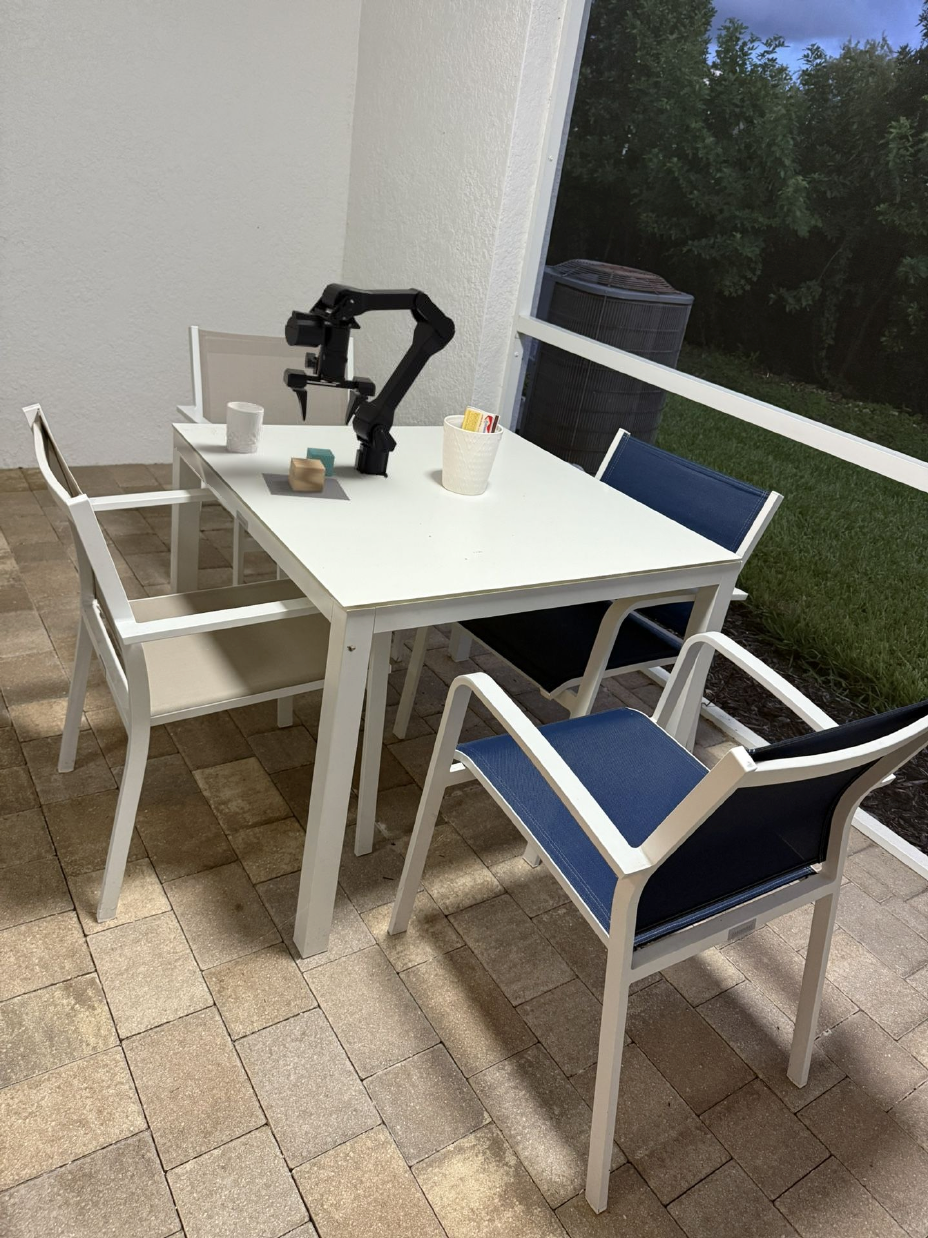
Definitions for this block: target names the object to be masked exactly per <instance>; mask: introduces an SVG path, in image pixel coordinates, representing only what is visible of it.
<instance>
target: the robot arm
mask: <svg viewBox="0 0 928 1238" xmlns="http://www.w3.org/2000/svg"><path fill="white" fill-rule="evenodd" d="M372 311H373V312H375V311H409V312H410V314H411V317H412V319H413V320H414V321H415V323H416V325H415V328H414V329H413V333H412V334H413V336H412V343H411V345H410V346H409V348H408V350H407V351H406V352H405V354H404V355H403V357H402V359H400V361H399V363H398V365H397V366H396V367H395V369H394V371H393V372H392V374H391V375H390V376H389V378H388V380H387V381H386V382H385V384H384V386H383V387H382V389H381V390H380V392H379V393H378V395H377V396H376V392H377V391H376V389H377V388H376V384H375V382H374V381H373V380H372V379H371V378H370V377H364V376H355V375H353V377H352V379H351V380H350V379H346V377H345V375H346V371H347V370H346V368H347V363H348V361H349V358H348V352H349V346H350V336H351V331H352V330H361V328H362V327H361V325H360V324H359V322H357V320H356V317H357V316H362V315H364V314H365V313H368V312H372ZM455 334H456V326H455V322H454V321H453V319H452V318H451V317H449V316H447V315H446V314H445V313H444V311H442V310H441V309H440V308H439V307H438V306H437V305H436V303H435V302H433V300H431V297H430V296H429V295H428V294H427V292H425V291H423V290H420V289H418V288H414V287H411V288H402V289H401V288H400V289H399V288H392V289H390V288H389V289H384V288H383V289H381V288H379V289H363V288H359V287H354V286H351V285H345V284H341V283H335V282H334V283H333V282H332V283H329V284H327V285H326V287H325V288H324V289H323V292H322V293H321V296H320V298H319V299H317V301H316V302H315V303H314V305H313V306H312V307H311V308H310V309H309V311H308V312H303V311H300V310H294V309H293V310H292V311H291V316H290V317H288V318H287V321H286V324H285V326H284V336H285V337H284V338H285V341H286V343H287V344H288V346H289V347H298V348H299V347H300V348H315V349H316V348H319V349H318V350H319V351H318V356H316V355H317V354H316V353H315V352H306V353H305V358H304V368H305V369H309V370H312V375H311V374H307V373H306V371H304V369H296V368H290V367H288V368H286V369H285V370H284V372H283V376H282V381H283V384H285V385H286V387H287V388H290V389H291V391H292V392H294V393H295V394H296V397H297V400H298V405H299V409H300V415H301V419H302V421H303V422H305V421H306V420H307V419H306V417H307V409H308V407H307V406H308V390H307V388H306V387H307V385H310V386H318V387H327V388H337V389H345V390H349V395H348V402H347V406H346V407H347V408H346V412H345V416H344V425H345V426H348V425H349V423H350V422H351V424H352V430H353V432H354V433H355V435H356V440H357V441H358V442H360V443H359V448H358V449H356V452H355V453H356V454H355V460H354V468H356V470H357V471H358V472H359V474H361V475H370V476H378V477H379V476H382V477H384V478H389V474H388V473H387V469H388V464H389V463H388V462H389V458H390V453H393V452H394V451H395V449H396V447H397V445H398V443H397V442H396V440H395V438H394V437H393V436H392V434H391V433H390V432H391V429H392V427H393V426H394V420H395V419H394V418H395V412H396V410H397V408H398V407H399V405H400V404H401V402H402V401H403V399H404V398H405V396H406V395H407V393H408V391H409V390H410V389H411V387H412V385H413V384H414V383H415V380H416V379H417V378H418V376H419V375H420V374H421V372H422V370H423V369H424V367H425V366H426V364H427V362H428V361H429V360H430V359H431V357H433V356H435V355H436V354H438V353H439V352H441V351H443V350H444V349H445V348H446V346H447V345H448V344H449V343H450V342H451V341H452V340H453V338H454V336H455ZM369 397H371V398H372V397H373V398H374V397H375V398H374V399H372V400H371V401H368V400H369ZM353 416H354V417H353ZM351 419H352V420H351Z"/></svg>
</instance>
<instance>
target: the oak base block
mask: <svg viewBox="0 0 928 1238" xmlns="http://www.w3.org/2000/svg"><path fill="white" fill-rule="evenodd" d="M325 470H326V469H325V467H324V466H323V464H322V463H321V461H320V460H315V459H306V458H304V457H303V458H301V457H290V464H289V472H288V475H289V480H288V481H289V482H290V484H291V486H292V488H293V490H297V491H310V492H323V485H324V478H326V476H325Z"/></svg>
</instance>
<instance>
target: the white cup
mask: <svg viewBox="0 0 928 1238" xmlns="http://www.w3.org/2000/svg"><path fill="white" fill-rule="evenodd" d="M226 407H227V408H226V433H225V434H226V443H225V444H226V447H225V448H226V450H227V449H228V450H227V452H230V451H231V453H238V454H239V453H241V454H251V455H252V454H254V453H256V452H257V453H258V449H259V442H260V441H261V433H262V428H263V421H264V420H263V419H264V413H265V409H264V407H262V406H260V405H258V404H255V403H250V402H245V401H232V402H231V401H230V402H228V403H227V405H226ZM257 453H256V454H257ZM254 455H255V454H254Z"/></svg>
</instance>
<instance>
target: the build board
mask: <svg viewBox="0 0 928 1238" xmlns="http://www.w3.org/2000/svg"><path fill="white" fill-rule="evenodd" d="M261 474H262V477H263V480H264V481H265V483H266V486H267V488H268V490H269V492H270V495H273V496H274V495H275V496H286V497H299V498H313V499H314V498H315V499H329V500H339V501H340V500H341V501H351V500H350V498H349V496H348V495H347V493H346V492H345V490H344V489H343V487H342V485H341V483H340V482H339V481H338V480H337V478H327V477H325V478H324V485H323V492H310V491H297V490H293V488H292V486H291V484H290V482H289V481H288V480H289V474H288V475H287V474H277V473H264V472H262V473H261Z"/></svg>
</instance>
